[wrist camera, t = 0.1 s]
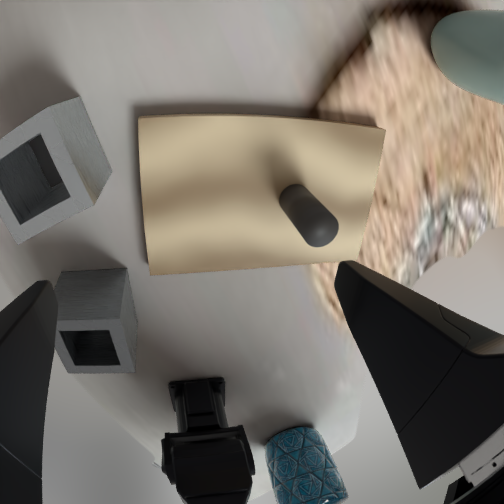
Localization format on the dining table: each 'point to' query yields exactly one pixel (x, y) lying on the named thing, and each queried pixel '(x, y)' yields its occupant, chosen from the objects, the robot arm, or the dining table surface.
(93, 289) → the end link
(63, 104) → the grey open cube box
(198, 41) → the dining table surface
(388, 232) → the dining table surface
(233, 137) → the board
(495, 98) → the cup
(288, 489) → the lamp
